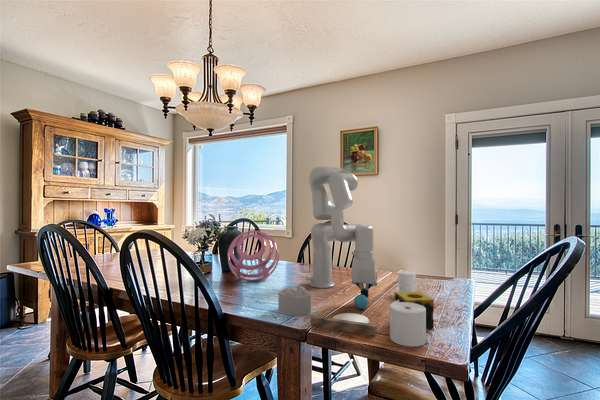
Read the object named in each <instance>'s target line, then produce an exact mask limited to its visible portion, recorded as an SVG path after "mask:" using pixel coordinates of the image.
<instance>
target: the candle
mask: <svg viewBox="0 0 600 400" xmlns="http://www.w3.org/2000/svg"><path fill="white" fill-rule="evenodd" d="M396 300H399V302H409V303H415V304H419V305H422V306H424V307H425V308H426V330H431V329H434V328H435V326H434V325H435V324H434V323H435V321H434V308H435V305H434V303H435V301H434V300H435V299H434V298H432V297H430V296H429V295H427V294H425V293H423V292H422V291H415V292H399V291H395V292H394V301H396Z"/></svg>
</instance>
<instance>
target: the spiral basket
mask: <svg viewBox="0 0 600 400" xmlns="http://www.w3.org/2000/svg"><path fill="white" fill-rule="evenodd" d="M248 238H249V239H250V238H256V239H258V240H259V241H260V243H261V244H260V245H261V246H260V249H259V251H257V250H256V249H253V251H254V254H247V253H248V250H249V249H248V248H246V250H244V251H243V249H242V244H243V242H244V241H245V240H246V239H248ZM266 240H267V242H268V243H269V253H268V255H267V256H266V258H265V259H264V260H263V259H262V256H263V255H264V254H265V252H266V249H267V243H266ZM235 247H236V250H237V251H236V252H237V254H238V255H239V256H240V259H239V260H238V259H237V257H236V256H235V252H234V249H235ZM274 251H275V256H274V258H273V255H274ZM272 258H273V261H272V263H271V264H270V265H269V267H267V264H268V263H270V261H271V260H272ZM231 260H232V261H233V263H234V264H235V266H236V267H235V266H234V265H233V263H232V261H231ZM244 260H245V261H256V260H257V262H258V263H257V264H253V265H247V264H245V263H243V262H244ZM279 261H280V252H279V248H278V245H277V242H276V241H275V240H274V238H272V236H271V235H269V234H267V233H266V232H263V231H260V230H248V231H244V232H242V233H240V234H238V236H237V237H236V236H235V238H234V239H233V240H232V241H231V243H230V244H229V247H228V250H227V263H228V267H229V269H230V271H231V272H232V274H233V275H234V276H236V278H238V279H240V280H243V282H244V281H245V282H250V283H251V282H252V283H253V282H259V281H262V280H266V279H268V278H269V277H270V276H271V275H272V274H273V272H274V271H275V270H276V269H277V267H278V264H279ZM260 269H261V270H262V271H261V270H260ZM241 270H244V271H245V270H246V271H249V272H247V273H245V272H242V271H241ZM255 270H258V272H257V273H252V272H253V271H255ZM259 277H260V278H259ZM250 278H251V279H250ZM253 278H255V279H253Z"/></svg>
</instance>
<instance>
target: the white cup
mask: <svg viewBox="0 0 600 400" xmlns="http://www.w3.org/2000/svg"><path fill="white" fill-rule="evenodd" d="M416 277H417V272H415V271H412V270H399V271H397V281H398V282H397V283H398V292H416V281H417V279H416Z"/></svg>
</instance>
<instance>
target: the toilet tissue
mask: <svg viewBox="0 0 600 400" xmlns="http://www.w3.org/2000/svg"><path fill="white" fill-rule="evenodd" d="M390 338H391V339H390ZM389 339H390V341H392V342H393V343H395V344H398V345H401V346H404V347H420V346H423V345H426V343H427V329H426V308H425V307H424V306H422V305H419V304H415V303H409V302H399V300H396V301H395V300H394V301H392V302H391V303H390V305H389Z"/></svg>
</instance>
